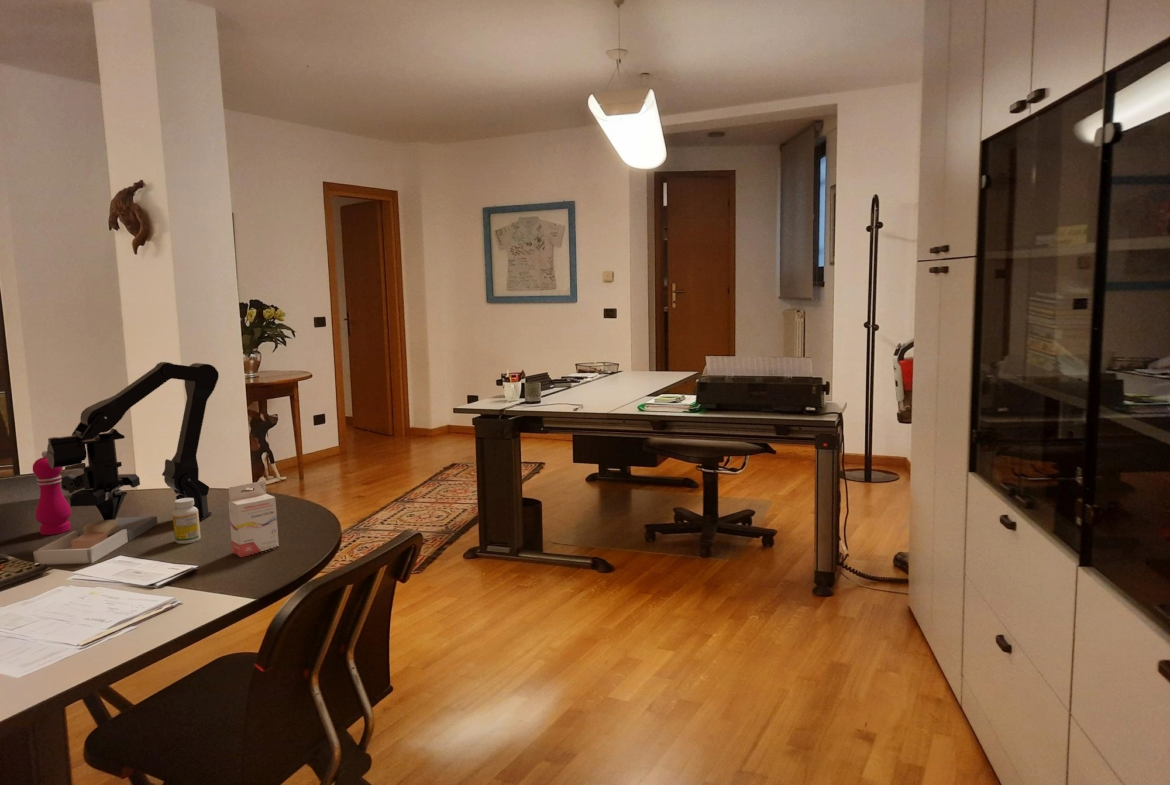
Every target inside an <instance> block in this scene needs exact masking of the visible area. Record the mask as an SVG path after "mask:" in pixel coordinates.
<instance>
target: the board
mask: <svg viewBox="0 0 1170 785" xmlns="http://www.w3.org/2000/svg"><path fill="white" fill-rule="evenodd" d="M115 520H118V525H119V530H118V531H116V532H114V533H112V534H111V535H109V536H108V538H109V537H110V536H112V535H114V534H116V533H117V532H119V531H121V530H123V529H127V538H128V542H130V541H132V540H134V539H135V538H137V537H139V536H140V535H142V534H143V533H146V532H147V531H149V530H151V528H154V527H156V526H157V525H158V524H159V523H158V516H156V515H155V516H153V515H152V516H132V517H131V516H127V517H116V519H115ZM156 524H157V525H156ZM155 525H156V526H155ZM153 526H154V527H153ZM148 529H149V530H148ZM77 533H78V537H79V536H81V535H83V534H84V530H81V531H80V532H77Z"/></svg>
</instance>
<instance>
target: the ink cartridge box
mask: <svg viewBox="0 0 1170 785" xmlns="http://www.w3.org/2000/svg"><path fill="white" fill-rule="evenodd" d="M266 485H267V483H266V481H265V480H262V481H257V482H256V481H255V482H250V483H245V484H239V485H234V486H229V488H228V511H229V512H228V514H229V525H230V537H231V548H232V549H231V550H232V551H231V552H232V553H233V554H234V555H236V556H238V557H240V558H243V557H248V556H251V554H252V555H255V554H254V553H257V554H259V553H258V552H261V551H264V550H267V549H269V548H273V547H276V546H279V532H278V528H279V527H278V517H277V503H276V496H273V495H272V494H271V495H270V494H268V493H267V486H266ZM248 488H249V489H253V490H250V491H245V490H247V489H248ZM242 491H243V492H242ZM279 547H280V546H279ZM261 553H262V552H261Z"/></svg>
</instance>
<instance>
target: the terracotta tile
mask: <svg viewBox="0 0 1170 785" xmlns="http://www.w3.org/2000/svg"><path fill="white" fill-rule="evenodd" d="M107 538H108V536H107V533H85V534H83V535H81V536H79V537H77V538H75V539H73V540H71V544H72V549H88V548H91V547H92V546H94V545H96V544H98V543H100V542H101V541H103V540H105V539H107Z"/></svg>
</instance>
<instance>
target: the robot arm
mask: <svg viewBox="0 0 1170 785" xmlns="http://www.w3.org/2000/svg"><path fill="white" fill-rule="evenodd" d="M219 378H220V377H219V371H218V369H217V368H216V367H215V366H214V365H211V364H210V363H209V364H208V363H201V362H195V363H191V364H190V365H183V364H177V363H176V364H174V363H172V362H168V361H160V362H158V363H156V364H155V366H154V367H153V368H151V369H150V370H149V371H147V372H146V373H144V374H143V375H141V376H140V377H138V378H137V379H136V380H135V381H133V382H131V383H130V384H129V385H127V386H126V387H124V389H121V391H119V392H117V393H116V394H115V395H112V396H110V397H108V398H106V399H103V400H100V401H98V402H96V403H94V404H92V405H89V406H88V407H86V408H85V409H83V410H82V412H80V417H79V418H80V419H79V420H80V421H79V423H78V424H77V426H76V427H75V429H74V430H73V432H72V434H71V435H69V436H59V437H57V436H55V437H54V436H53V437H48V439H47V440H48V443H47V450H46V451H47V452H46V453H47V459H48V463H49V465H50V467H51V468H59V467H63V468H64V467H70V466H76V465H81V464H82V463H83V461H85V460H86V459H87V462H88V465H87V466H84V468H83V473H82V474H79V475H77V476H75V475H73V474H72V473H70V474H68V475H65V476H63V477H61V482H60V487H61V490H63V491H67V492H68V494H70V496H69V497H68V501H69V502H68V503H69V506H70V507H93V506H95V507H96V508H97V510H98V512H99V513H100V515H101V517H102V518H103V519H102V520H115V519H116V518H117V517H118V516H117V515H118V513H119V511H120V508H121V506H122V503H123V502H124V499H125V498H126V496H127V495H128V492H127V491H122V489H120V488H122V487H124V486H130V487H131V488H136V487H138V486H141V480H140V476H138V475H137V474H136V473H127V474H126V473H125V474H124V473H123V474H122V473H121V474H120V473H119V467H122V465H123V464H122V461H118V458H117V449H116V447H117V446H116V440H121V439H122V440H123V439H125V435H124V434H122V433H120V432H119V431H118V429H115V428H114V427H115V426H116V425H117V424H118V423H119V422H120V421H121V420H122V419H123V418H124V417H125V414H126V413H128V412H127V411H129V410H130V409H131V408H132V407H133V406H135V405H136V404H137V403H139V402H140V401H142V400H143V399H145V398H146V397H147V396H148V395H150V394H152V393H153V392H154V391H155V390H157V389H158V388H160V387H161V386H162V385H164V384H165V383H166V382H168V381H169V380H171V379H172V380H173V379H174V380H181V381H184V388H185V394H186V401H185V406H184V411H183V417H182V421H181V427H180V431H179V437H178V442H177V447H176V452H175V453H174V456H173V458H172V459H167V458H166V459H165V461H164V470H163V472H162V474H161V476H162V477H163V478H164V480H163V481H164V483H165V484H166V486H167V487H169V488H170V489H172V490H173V491H174V494H177V495H176V496H175V500H178V499H182V498H193V499H194V505H193V506H194V507H196V508H197V509H198V513H199V522H201V521H203V520H205V519H206V518H208V517H210V514H211V515H212V514H213V513H212V511H209V504H208V503H209V502H208V494H209V491H210V486H209V485H207V484H206V483H204V482H203V481H201V480H200V479H199V474H200V473H199V464H198V459H197V452H198V448H199V444H200V443H199V442H200V438H201V433H202V432H201V431H202V429H203V428H202V427H203V423H204V418H205V412H206V408H207V402H208V400H209V398H210V397H211V395H212V394H213V392H214V390H215V388H216V386H217V383H218V381H219ZM75 491H76V492H75ZM174 507H175V506H174ZM175 509H176V507H175ZM175 509H174V510H175ZM207 516H208V517H207Z"/></svg>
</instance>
